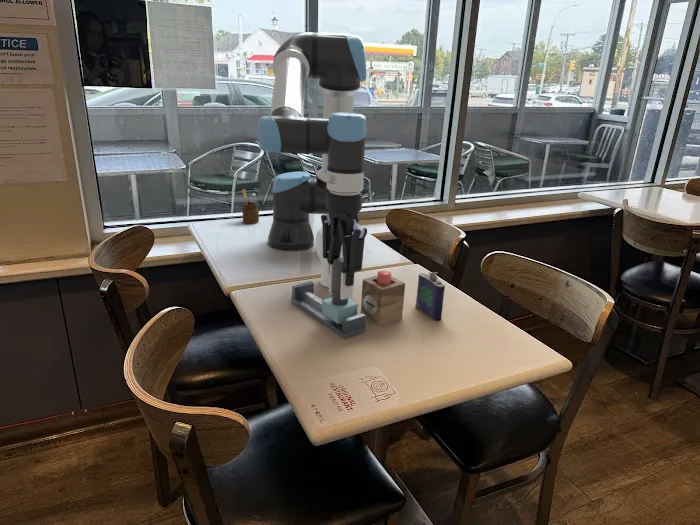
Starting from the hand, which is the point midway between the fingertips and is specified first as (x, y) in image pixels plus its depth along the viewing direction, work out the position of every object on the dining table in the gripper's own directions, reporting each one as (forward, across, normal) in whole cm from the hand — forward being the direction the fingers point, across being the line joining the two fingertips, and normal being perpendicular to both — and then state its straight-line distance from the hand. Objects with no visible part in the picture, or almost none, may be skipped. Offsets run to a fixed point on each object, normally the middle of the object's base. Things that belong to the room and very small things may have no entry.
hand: (340, 294), depth 111 cm
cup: (+8, -20, +13) cm, 25 cm away
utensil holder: (+8, -83, +20) cm, 86 cm away
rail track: (+8, -5, 0) cm, 9 cm away
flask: (+8, +7, +22) cm, 24 cm away
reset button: (+1, +2, +11) cm, 11 cm away
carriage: (+5, 0, 0) cm, 5 cm away
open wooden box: (+8, +2, +11) cm, 14 cm away
